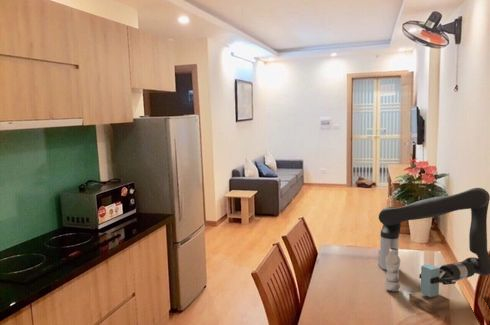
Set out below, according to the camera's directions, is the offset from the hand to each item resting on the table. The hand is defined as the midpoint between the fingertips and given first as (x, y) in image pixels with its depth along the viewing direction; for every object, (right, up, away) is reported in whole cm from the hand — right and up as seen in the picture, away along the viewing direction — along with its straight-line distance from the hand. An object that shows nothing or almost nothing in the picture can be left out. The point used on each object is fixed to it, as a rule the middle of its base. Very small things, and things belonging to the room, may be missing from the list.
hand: (425, 278), depth 160 cm
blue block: (+3, -7, +2) cm, 8 cm away
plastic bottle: (-8, -11, +16) cm, 21 cm away
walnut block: (+3, -12, +2) cm, 13 cm away
